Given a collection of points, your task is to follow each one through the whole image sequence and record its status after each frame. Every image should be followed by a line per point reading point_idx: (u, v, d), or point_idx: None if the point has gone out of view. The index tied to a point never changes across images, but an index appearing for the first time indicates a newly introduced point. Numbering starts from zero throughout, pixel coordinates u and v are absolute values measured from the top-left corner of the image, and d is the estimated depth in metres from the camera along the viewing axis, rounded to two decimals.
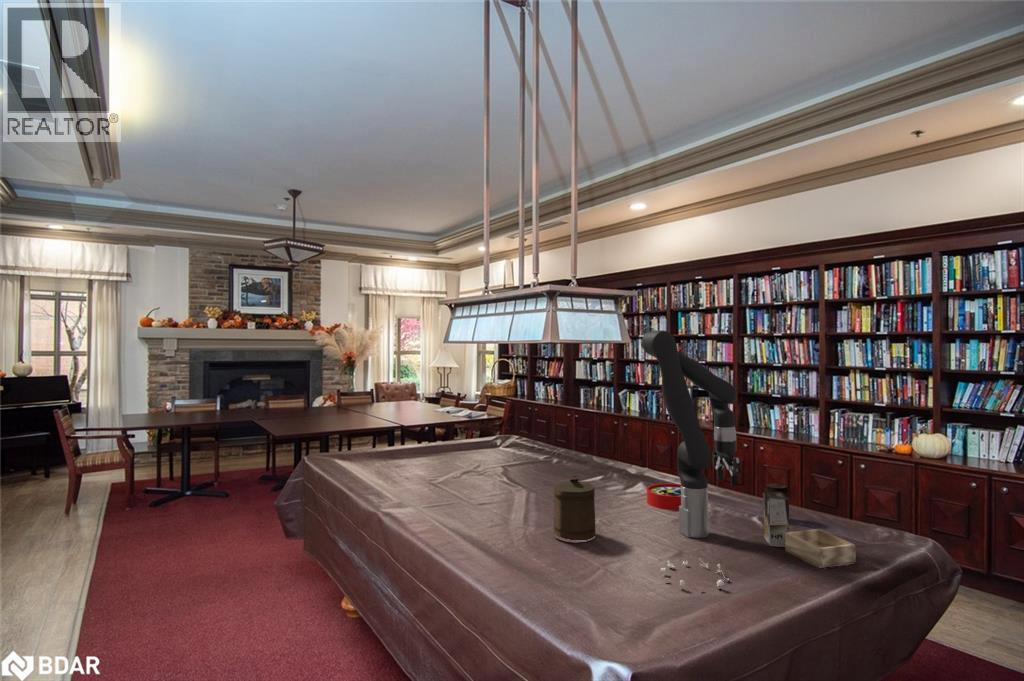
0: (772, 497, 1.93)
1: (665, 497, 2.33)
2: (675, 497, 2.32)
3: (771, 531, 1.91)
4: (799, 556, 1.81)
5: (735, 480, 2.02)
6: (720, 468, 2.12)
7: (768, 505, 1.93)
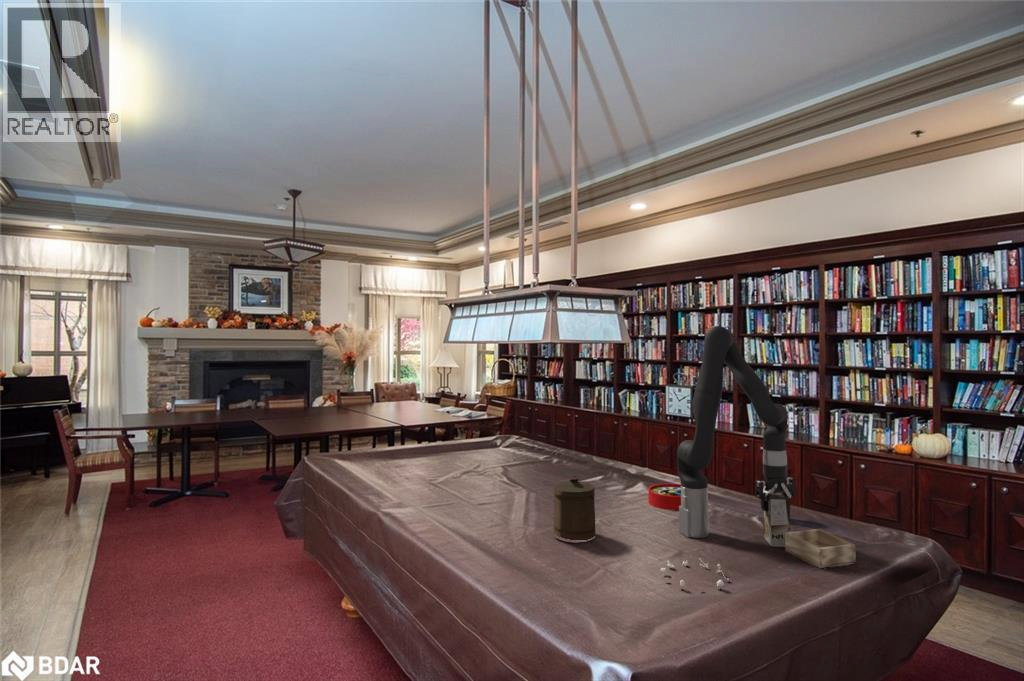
0: (773, 497, 1.93)
1: (667, 497, 2.33)
2: (676, 497, 2.32)
3: (772, 531, 1.91)
4: (799, 556, 1.81)
5: None
6: None
7: (769, 505, 1.92)
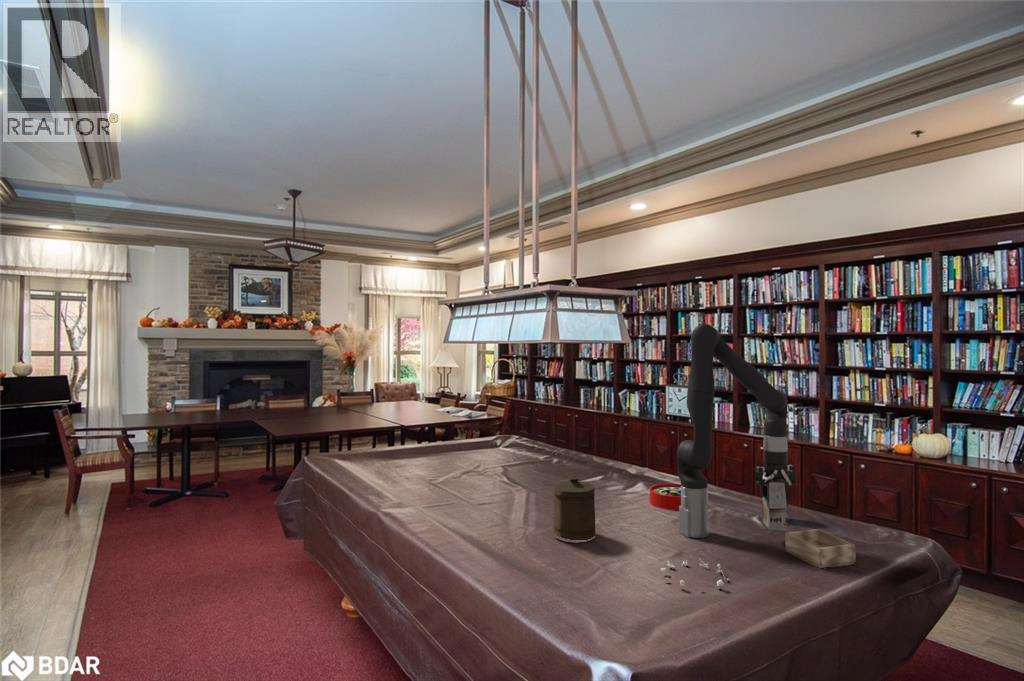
0: (772, 480, 1.92)
1: (668, 497, 2.33)
2: (678, 497, 2.32)
3: (770, 514, 1.91)
4: (799, 556, 1.81)
5: None
6: None
7: (768, 488, 1.92)
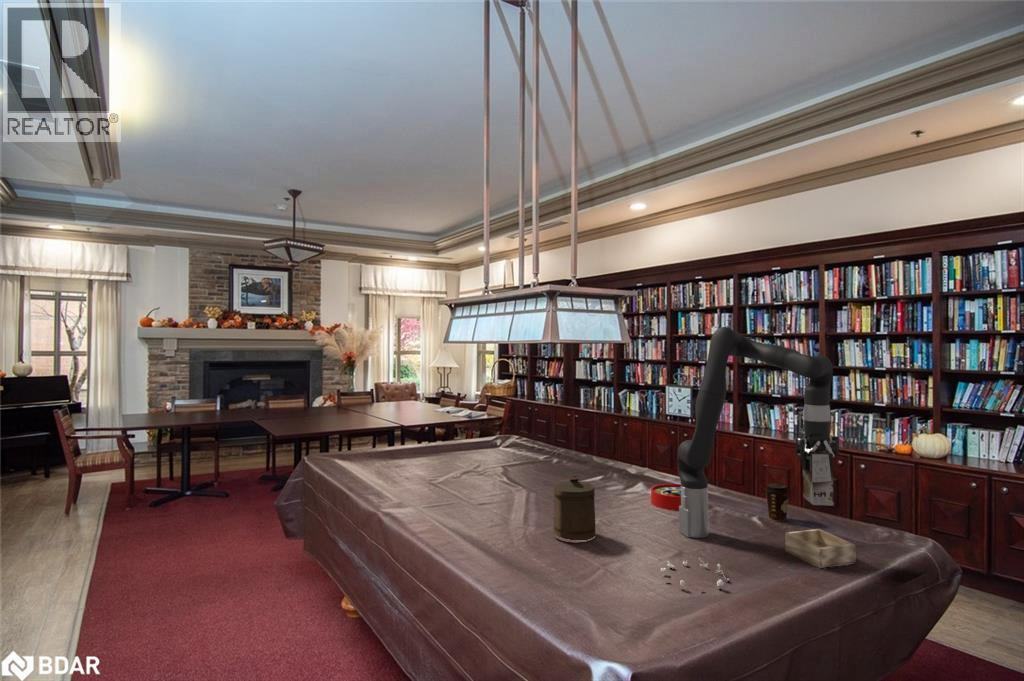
0: (814, 452, 1.79)
1: (670, 497, 2.33)
2: (679, 497, 2.32)
3: (814, 489, 1.77)
4: (799, 556, 1.81)
5: None
6: None
7: (810, 461, 1.79)
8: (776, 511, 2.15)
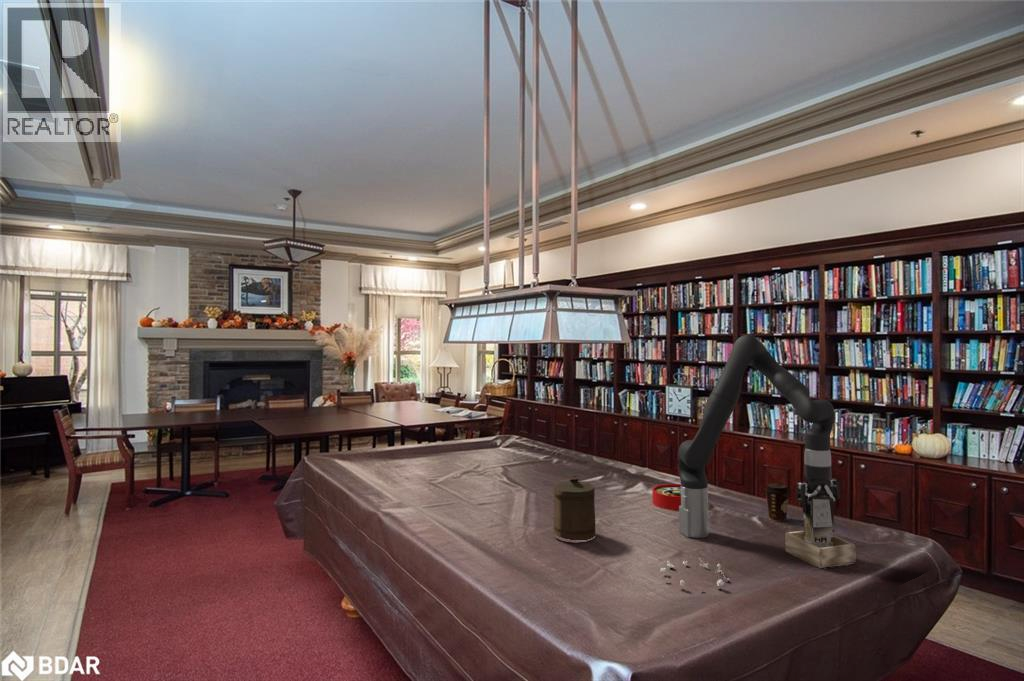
0: (815, 497, 1.79)
1: (671, 498, 2.33)
2: (680, 497, 2.31)
3: (814, 534, 1.78)
4: (799, 556, 1.81)
5: None
6: None
7: (811, 506, 1.79)
8: (776, 511, 2.15)
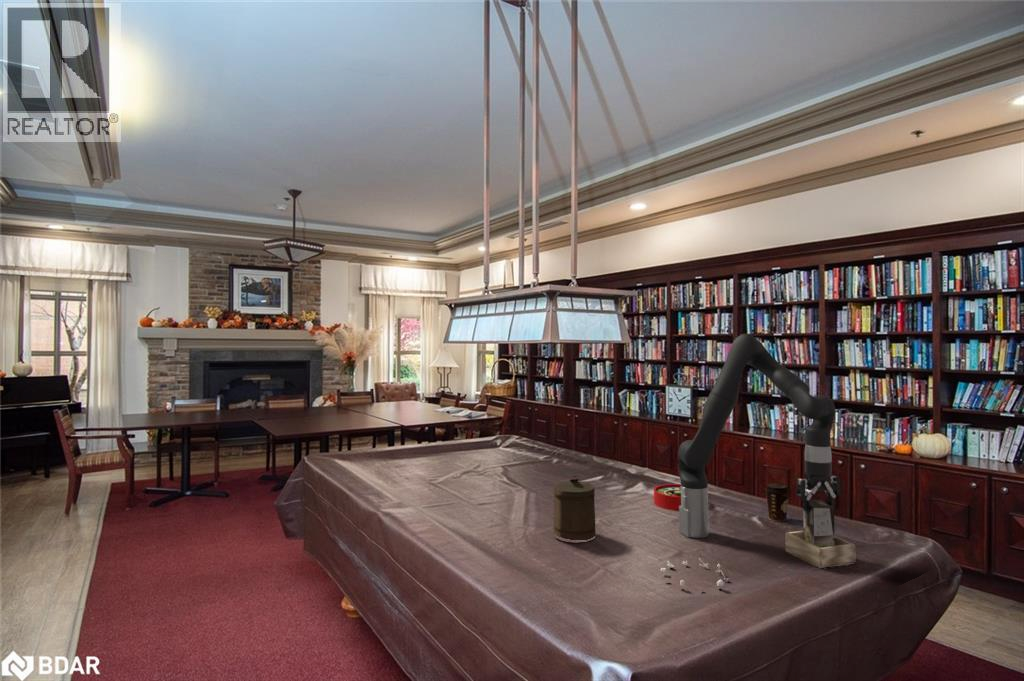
0: (815, 506, 1.79)
1: (672, 498, 2.32)
2: None
3: (815, 542, 1.78)
4: (799, 556, 1.81)
5: None
6: None
7: (811, 514, 1.79)
8: (776, 511, 2.15)
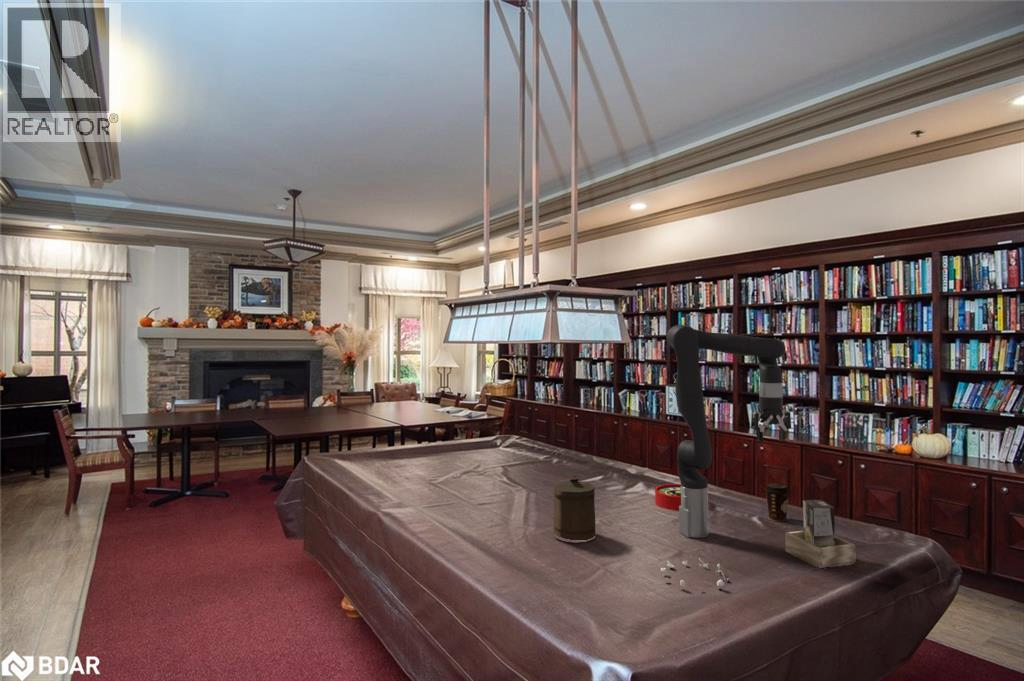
0: (815, 506, 1.79)
1: (673, 498, 2.32)
2: None
3: (815, 542, 1.78)
4: (799, 556, 1.81)
5: None
6: None
7: (811, 514, 1.79)
8: (776, 511, 2.15)
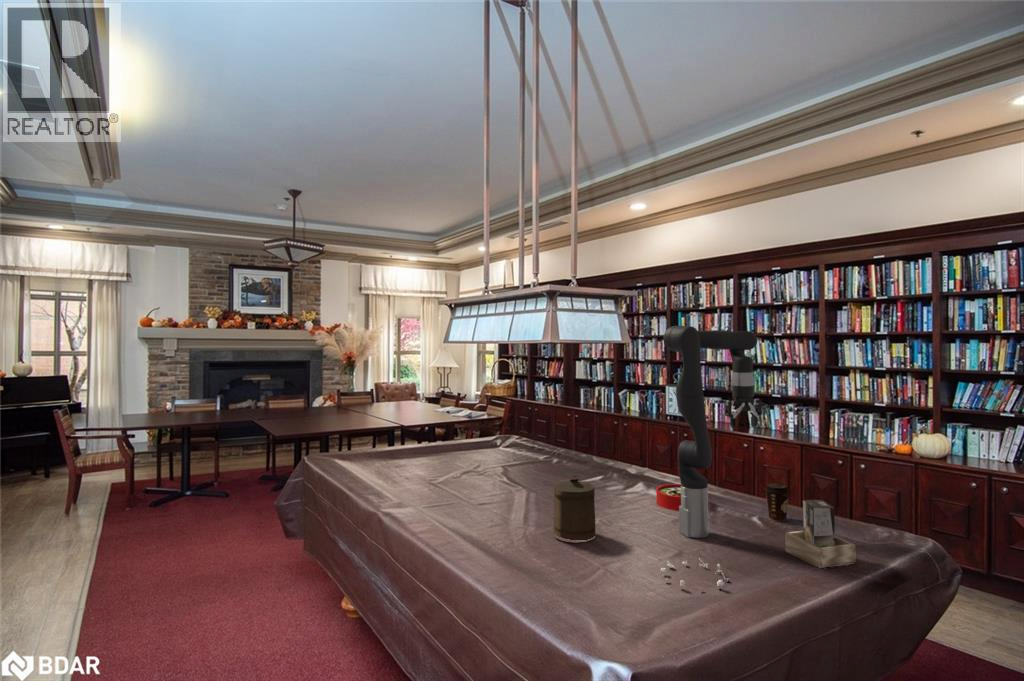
0: (815, 506, 1.79)
1: (674, 498, 2.32)
2: None
3: (815, 542, 1.78)
4: (799, 556, 1.81)
5: None
6: None
7: (811, 514, 1.79)
8: (776, 511, 2.15)
